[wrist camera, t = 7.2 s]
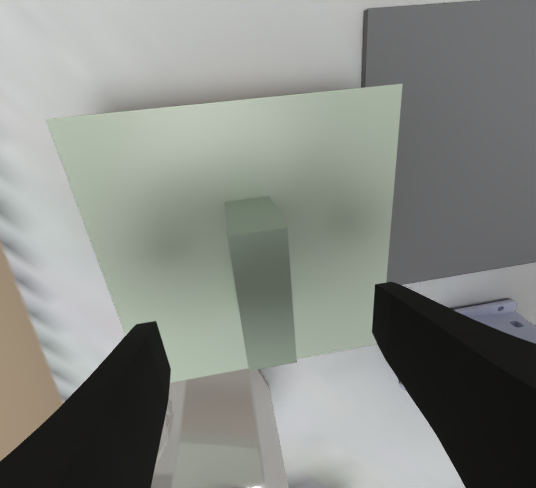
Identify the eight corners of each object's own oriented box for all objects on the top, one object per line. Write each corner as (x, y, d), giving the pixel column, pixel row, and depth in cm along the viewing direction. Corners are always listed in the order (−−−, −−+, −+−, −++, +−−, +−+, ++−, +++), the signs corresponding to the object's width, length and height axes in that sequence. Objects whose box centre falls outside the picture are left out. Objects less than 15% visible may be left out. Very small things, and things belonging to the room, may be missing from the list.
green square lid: (395, 84, 13) (476, 73, 9) (376, 336, 19) (421, 400, 15) (53, 118, 12) (-36, 124, 8) (146, 379, 18) (124, 462, 13)
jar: (202, 329, 22) (188, 538, 11) (287, 370, 25) (339, 567, 14) (140, 407, 24) (80, 645, 14) (225, 436, 27) (231, 651, 17)
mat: (646, -9, 17) (658, -13, 17) (556, 254, 25) (563, 257, 24) (364, 11, 16) (368, 8, 15) (354, 288, 23) (357, 292, 22)
